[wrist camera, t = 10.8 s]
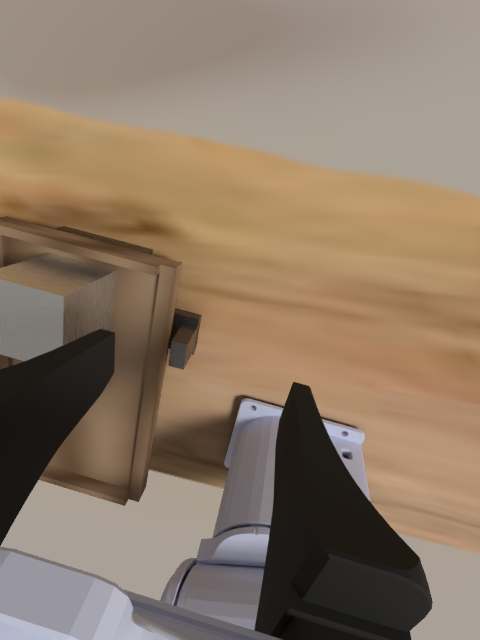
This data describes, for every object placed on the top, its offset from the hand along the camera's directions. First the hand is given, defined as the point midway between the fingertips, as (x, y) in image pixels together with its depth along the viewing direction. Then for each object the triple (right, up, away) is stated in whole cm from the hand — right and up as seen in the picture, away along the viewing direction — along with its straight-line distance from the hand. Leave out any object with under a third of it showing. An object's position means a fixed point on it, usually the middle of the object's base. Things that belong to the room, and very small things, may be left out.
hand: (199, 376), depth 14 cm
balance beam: (-9, -1, +11) cm, 14 cm away
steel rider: (-8, +4, +7) cm, 11 cm away
